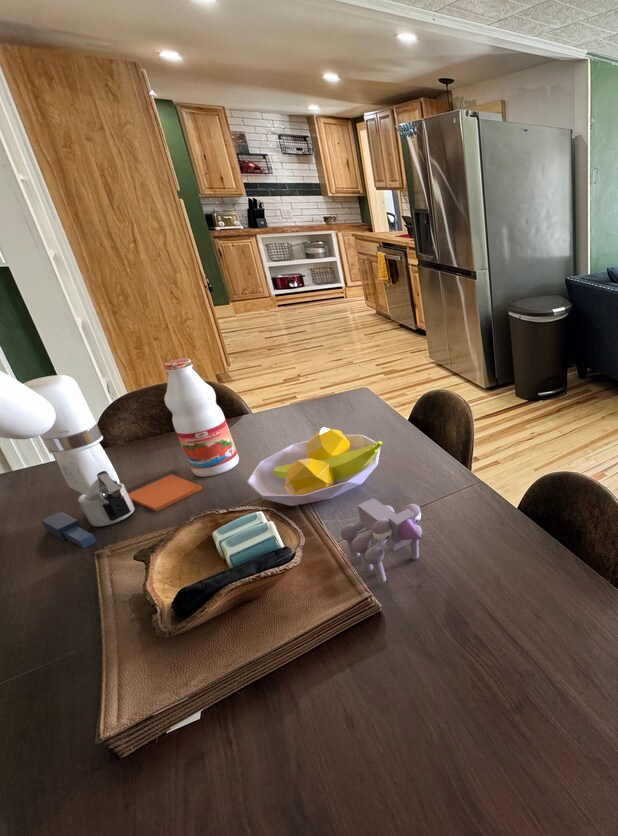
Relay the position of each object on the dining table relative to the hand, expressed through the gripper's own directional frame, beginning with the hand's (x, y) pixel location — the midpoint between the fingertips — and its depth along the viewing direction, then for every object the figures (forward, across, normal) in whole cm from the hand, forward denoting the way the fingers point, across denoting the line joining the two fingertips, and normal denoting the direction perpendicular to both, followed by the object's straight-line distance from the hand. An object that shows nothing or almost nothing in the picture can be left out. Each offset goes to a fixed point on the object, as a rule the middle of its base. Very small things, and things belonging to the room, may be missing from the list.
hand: (110, 511), depth 99 cm
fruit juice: (+2, -1, +21) cm, 21 cm away
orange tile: (+2, 0, +9) cm, 9 cm away
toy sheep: (+2, +66, +14) cm, 67 cm away
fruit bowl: (+2, +31, +27) cm, 41 cm away
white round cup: (+1, 0, 0) cm, 1 cm away
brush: (+2, 0, -6) cm, 6 cm away
